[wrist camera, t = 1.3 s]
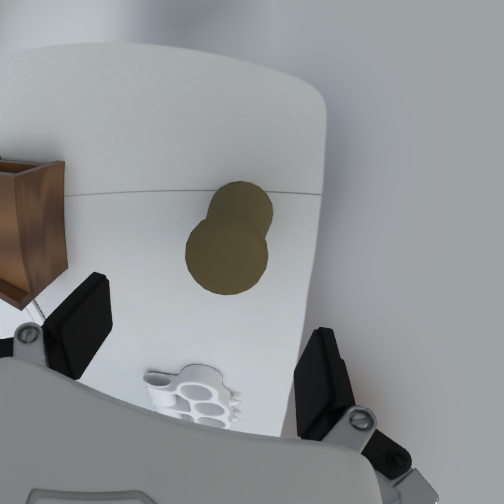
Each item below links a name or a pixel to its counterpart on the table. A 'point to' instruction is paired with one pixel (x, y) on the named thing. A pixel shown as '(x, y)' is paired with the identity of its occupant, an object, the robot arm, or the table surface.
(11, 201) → the brown wooden box
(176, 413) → the knuckle duster
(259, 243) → the olive pawn figure
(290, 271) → the table surface
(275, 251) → the table surface
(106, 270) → the table surface
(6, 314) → the plate
